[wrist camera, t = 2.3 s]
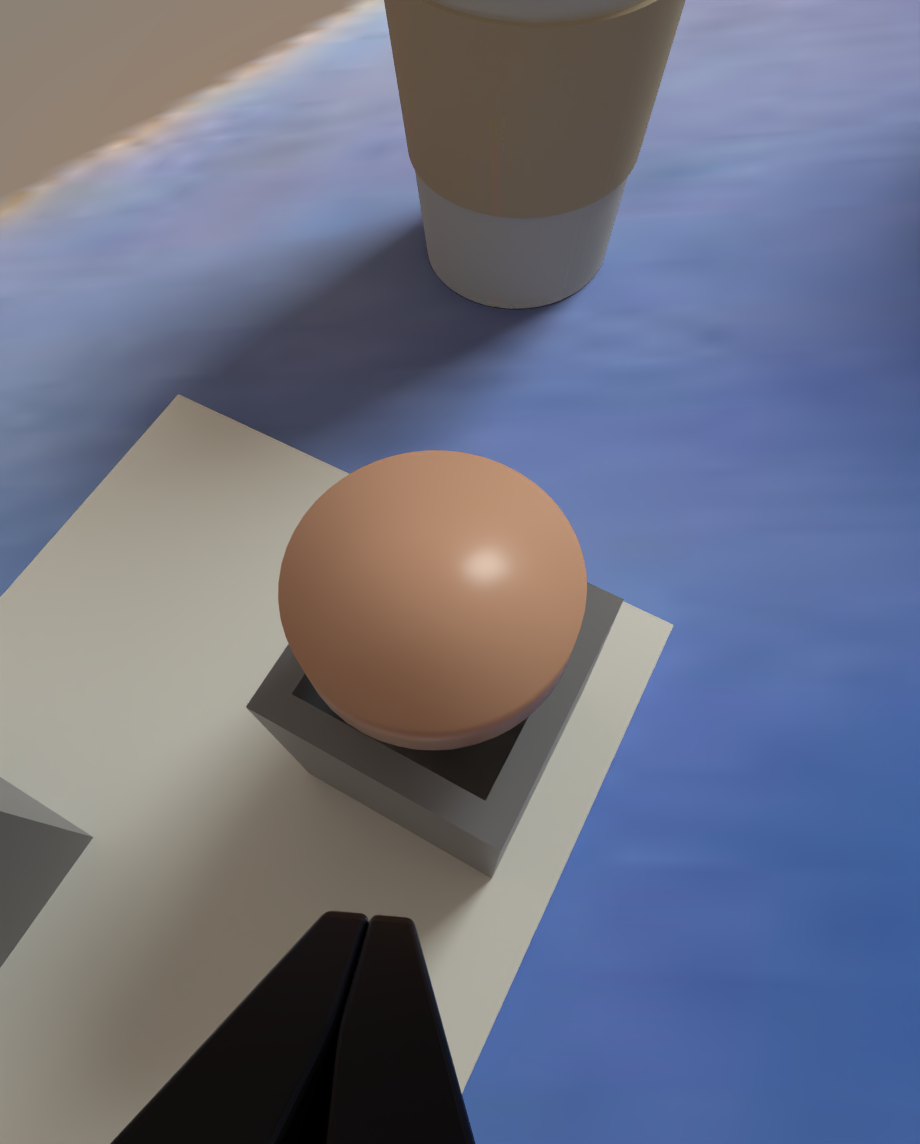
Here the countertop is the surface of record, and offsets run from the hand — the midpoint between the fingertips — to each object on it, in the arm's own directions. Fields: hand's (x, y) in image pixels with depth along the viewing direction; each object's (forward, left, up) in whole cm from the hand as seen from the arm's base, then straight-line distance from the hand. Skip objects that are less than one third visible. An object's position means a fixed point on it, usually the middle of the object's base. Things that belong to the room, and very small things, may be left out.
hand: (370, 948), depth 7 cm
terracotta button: (+5, +2, -9) cm, 10 cm away
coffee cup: (+23, +9, -13) cm, 28 cm away
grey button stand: (+1, +7, -13) cm, 14 cm away
